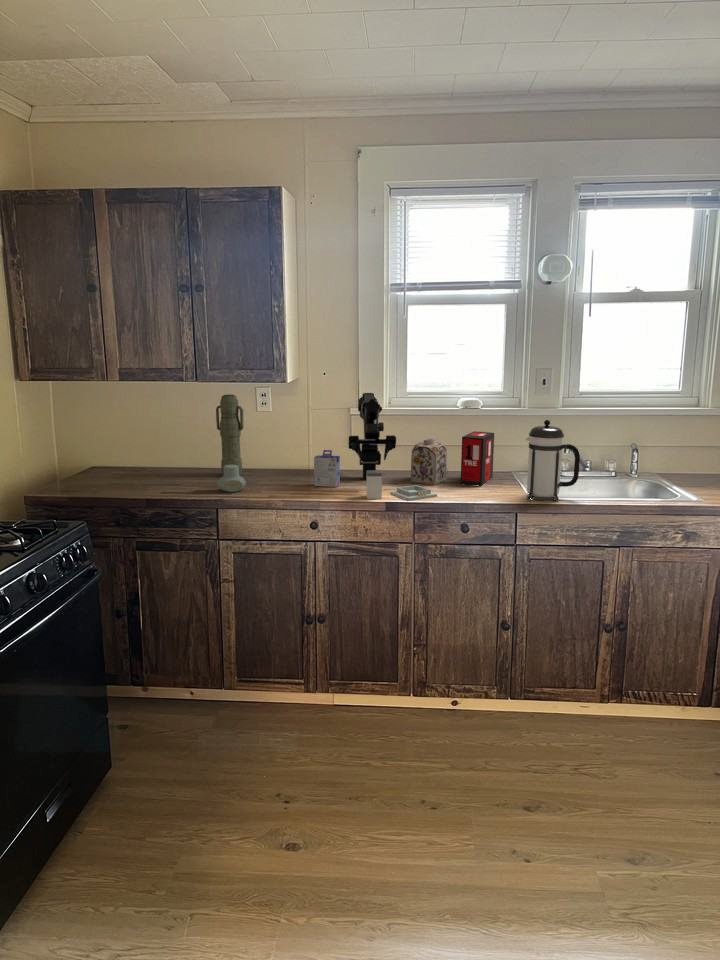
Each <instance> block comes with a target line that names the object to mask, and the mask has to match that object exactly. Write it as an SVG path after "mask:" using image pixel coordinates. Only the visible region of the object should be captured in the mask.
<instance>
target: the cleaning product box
mask: <svg viewBox="0 0 720 960" xmlns="http://www.w3.org/2000/svg"><path fill="white" fill-rule="evenodd" d="M494 448H495V432H490V431H489V432H487V431H485V432H484V431H472V432H469V433H467V434H466V435H463V436H462V437H461V456H460V457H461V459H460V460H461V461H460V462H461V464H460V485H461V484H465V485H464V486H469V485H479V486H482V485H483V484H484V483H486V482H487V481H488V480H490V479H491V478H492V479H493V471H494V470H493V469H494V451H495V450H494ZM490 481H491V480H490ZM487 483H488V482H487ZM487 483H486V484H487ZM479 486H478V487H479ZM483 486H484V485H483ZM483 486H482V487H483Z"/></svg>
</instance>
